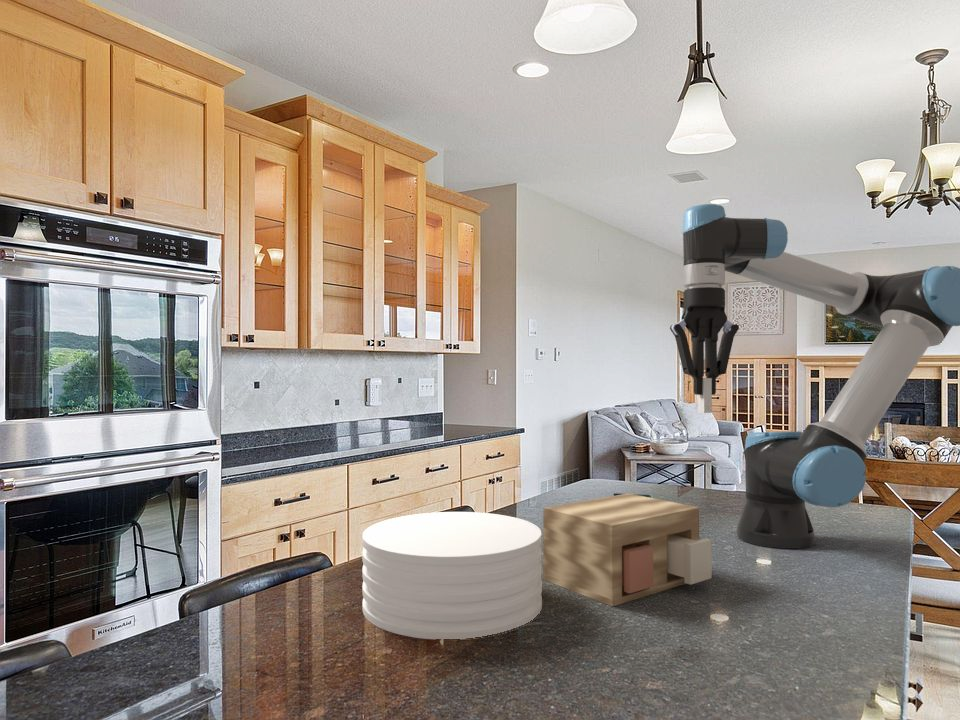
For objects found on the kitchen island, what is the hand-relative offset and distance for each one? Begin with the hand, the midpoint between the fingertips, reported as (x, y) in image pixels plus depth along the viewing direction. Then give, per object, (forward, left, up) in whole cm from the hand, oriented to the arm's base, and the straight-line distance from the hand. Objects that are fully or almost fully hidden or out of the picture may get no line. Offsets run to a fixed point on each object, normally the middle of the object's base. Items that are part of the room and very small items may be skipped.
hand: (704, 412), depth 125 cm
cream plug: (+12, +8, -27) cm, 31 cm away
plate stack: (+49, +16, -29) cm, 59 cm away
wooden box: (+19, +8, -28) cm, 35 cm away
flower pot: (+8, -18, -29) cm, 35 cm away
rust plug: (+23, +11, -27) cm, 37 cm away
